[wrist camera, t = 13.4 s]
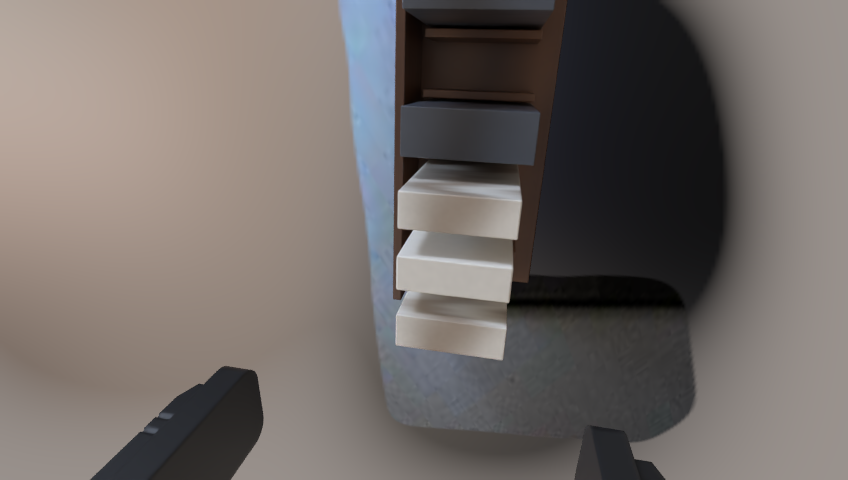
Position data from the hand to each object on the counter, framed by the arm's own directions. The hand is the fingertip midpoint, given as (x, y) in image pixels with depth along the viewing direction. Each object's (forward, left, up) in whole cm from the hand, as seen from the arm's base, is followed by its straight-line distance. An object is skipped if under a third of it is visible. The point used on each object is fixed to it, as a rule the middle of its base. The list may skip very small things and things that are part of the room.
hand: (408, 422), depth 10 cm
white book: (0, +2, -24) cm, 24 cm away
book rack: (0, -3, -25) cm, 25 cm away
